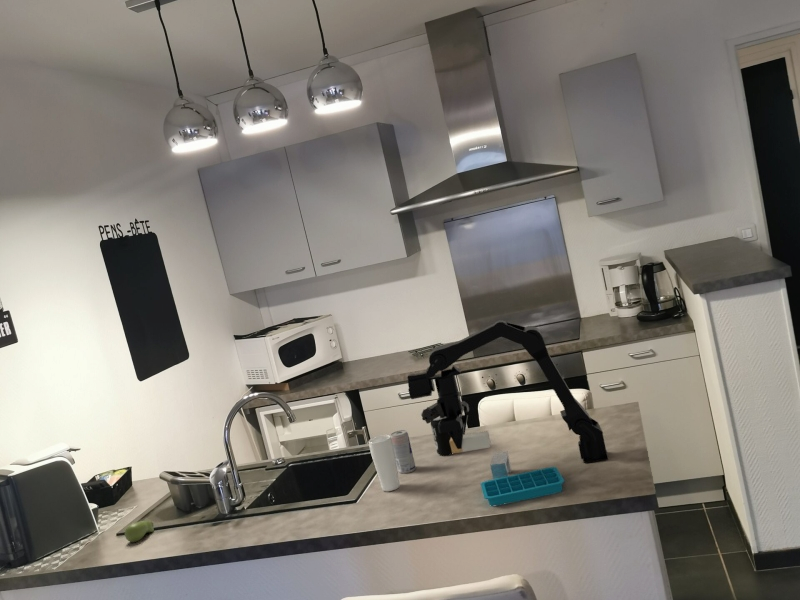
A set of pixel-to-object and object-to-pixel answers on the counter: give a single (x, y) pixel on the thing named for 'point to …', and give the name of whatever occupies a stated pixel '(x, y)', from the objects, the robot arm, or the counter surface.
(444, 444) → the beverage can
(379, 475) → the drinking glass
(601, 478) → the counter surface
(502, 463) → the gray rectangular block
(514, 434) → the counter surface
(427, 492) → the counter surface
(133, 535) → the pear
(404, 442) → the energy drink
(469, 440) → the tan-tipped white bar
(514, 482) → the ice cube tray
